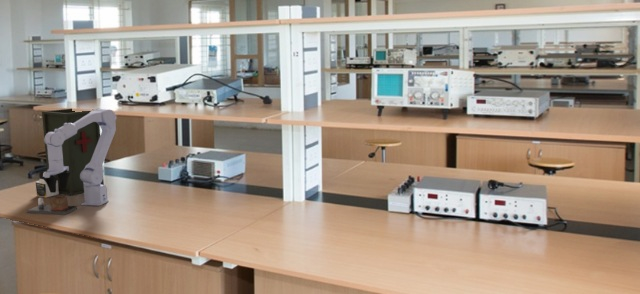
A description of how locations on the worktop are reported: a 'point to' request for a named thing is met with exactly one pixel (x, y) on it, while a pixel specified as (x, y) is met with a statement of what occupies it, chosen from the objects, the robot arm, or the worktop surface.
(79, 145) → the first aid box
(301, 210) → the worktop surface
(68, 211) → the pin board
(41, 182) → the medicine bottle
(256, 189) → the worktop surface
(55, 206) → the sleeve
